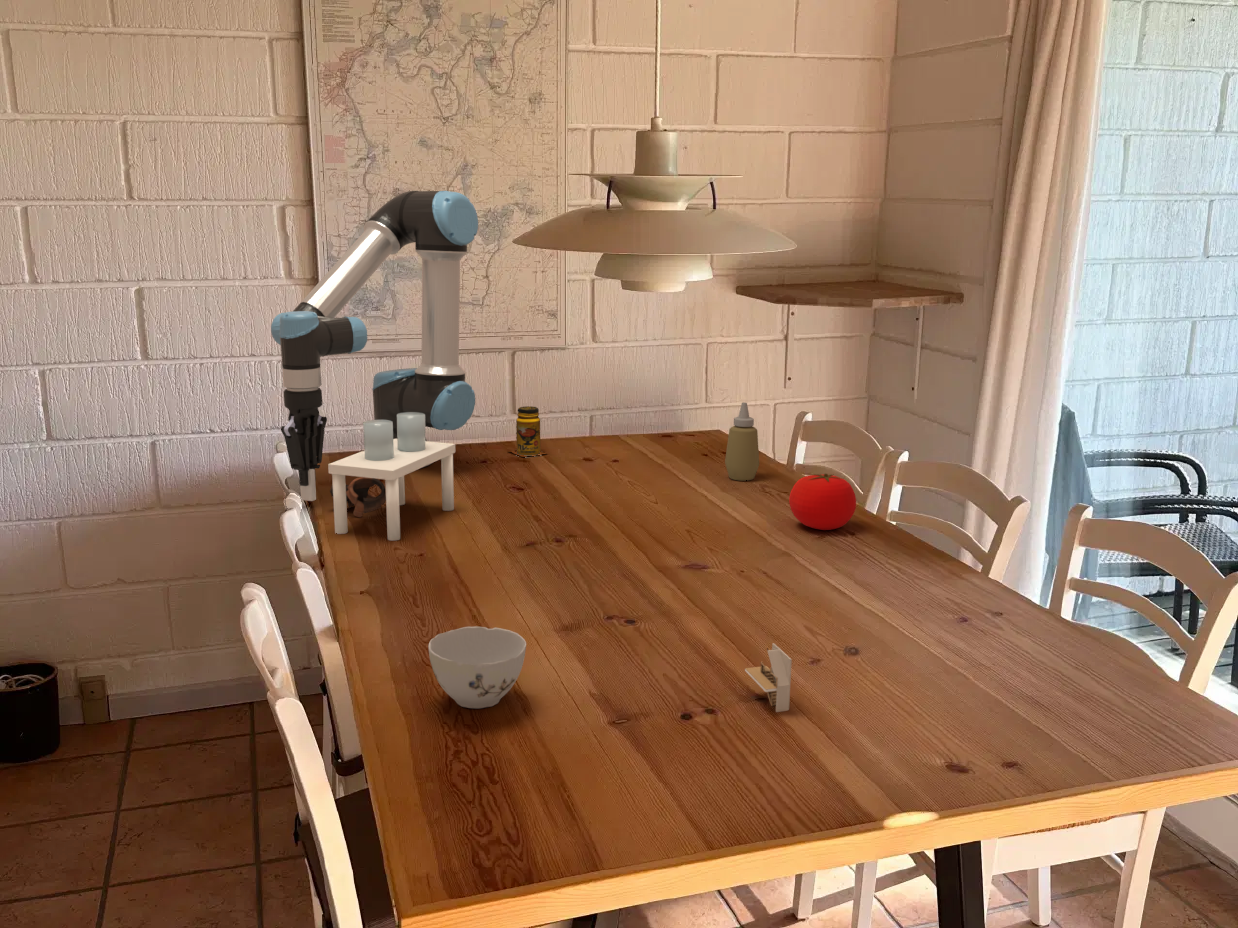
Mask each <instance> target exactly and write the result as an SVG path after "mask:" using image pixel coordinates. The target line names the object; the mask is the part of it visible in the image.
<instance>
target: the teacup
mask: <svg viewBox="0 0 1238 928" xmlns="http://www.w3.org/2000/svg"><path fill="white" fill-rule="evenodd" d="M526 651H527V641H526V640H525V638H523V636H521V635H520V634H519V633H518V632H515V631H512V630H509V629H505V628H500V627H493V628H488V627H486V626H464V627H460V628H456V629H451V630H449V631H448V630H447V631H445V632H443V633H437V635H435V636H434V637H433V638H431V639H430V641H429V643H428V655H429V661H430V662H429V663H430V665H431V668H432V672H433V674H434V677H435V679H436V680H437V682H438V684H439V685H440V688H442V689H443V691H444V692H445V693H446V694H447V695H448V696H449V697H450V698H451V699H453V700H454V701H455V703H456V704H457V705H458V706H460V707H463V708H468V709H477V710H478V709H484V708H489V707H493V706H495V705H497V704H499V702H500V701H501V699H502V698H503V697H505V696H506V695H507V694H508V693H509V691H511V689H512V687H513V686H514V684H516V681H518V678H519V676H520V674H521V671H522V668H523V666H524V660H525V657H526Z"/></svg>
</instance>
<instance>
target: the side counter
mask: <svg viewBox="0 0 1238 928" xmlns="http://www.w3.org/2000/svg"><path fill="white" fill-rule="evenodd" d="M393 444H394V458H393V459H390V460H384V461H371V460H366V459H365V453H364V450H362V451H359V452H357V453H354V454H351V455H349V456H346V457H344V458H341V459H338V460H336V461H333V462H331V463H328V464H327V465H328V474H331V476H332V477H331V479H332V485H333V497H332V499H333V517H334V518H333V519H334V534H336V533H337V534H336V535H345V534H347V533H348V532H349V530H348V527H349V526H348V512H347V511H348V510H347V508H348V507H347V506H348V504H346V485H347V484H346V476H348V477H349V476H350V477H357V478H359V477H367V478H375V479H378V480H385V481H384V482H385V484H384V485H385V492H386V501H385V504H386V506H385V507H386V530H387V531H386V533H387V541H393V542H394V541H399V540H401V517H400V513H401V512H400V506H403V505H404V506H405V504H406V494H405V476H406V475H408V474H411V473H413V472H415V471H417V470H419V469H422V468H425V467H424V466H426V465H428V464H430V465H431V464H433V463H434V462H437V461H439V460H440V461H441V462H440V464H441V465H440V468H441V469H440V470H441V501H442V502H441V503H442V505H441V507H442V508H441V509H442V511H445V512H451V511H454V510H455V497H454V496H455V491H454V488H455V487H454V454H455V453H456V443H448V442H437V441H428V440H427V441H425V450H422V451H416V452H406V451H400V450H398V449H397V439H393ZM428 466H429V465H428ZM426 467H427V466H426Z"/></svg>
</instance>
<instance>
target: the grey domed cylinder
mask: <svg viewBox="0 0 1238 928" xmlns="http://www.w3.org/2000/svg"><path fill="white" fill-rule="evenodd" d="M425 437H426V427H425V414H424V413H419V412H404V413H399V414H397V449H398V450H400V451H406V452H416V451H422V450H425Z"/></svg>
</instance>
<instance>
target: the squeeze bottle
mask: <svg viewBox="0 0 1238 928" xmlns="http://www.w3.org/2000/svg"><path fill="white" fill-rule="evenodd" d="M754 419H755V418H753V417H750V413H749V407H748V402H746V401H745V402H741V405H740V408H739V413H738V416H735V417H734V418H733V425H732V426H731V427H730V428H729V430H728V438H727V445H726V450H725V451H726V452H725V460H724V464H725V468H726V471H727V475H728V478H729V479H731V480H734V481H742V482H744V481H746V480H747V481H752V480H754V479H755V477H756V474H757V472H758V469H759V466H760V456H759V455H760V453H759V435H758V429H757V428H756V427H755V426H754V425H755V424H754V423H755V422H754V421H755V420H754Z"/></svg>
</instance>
